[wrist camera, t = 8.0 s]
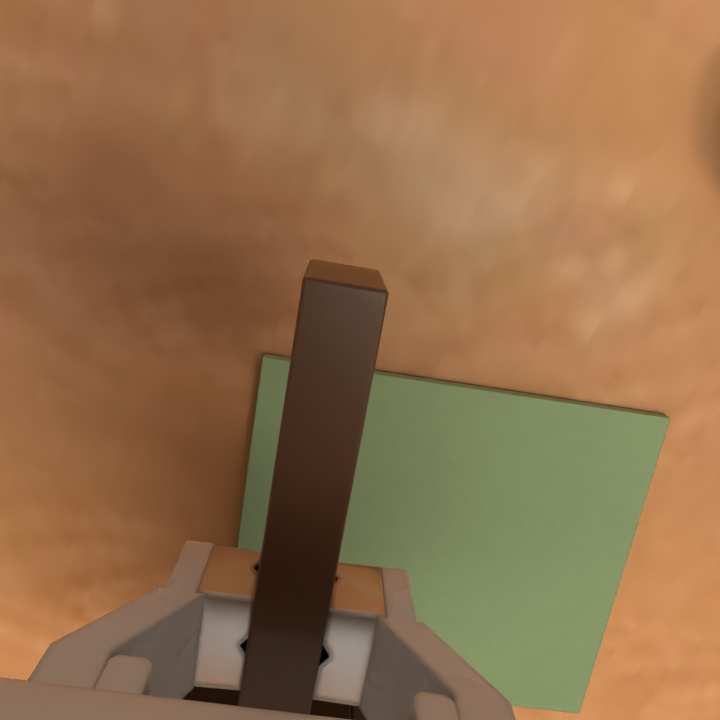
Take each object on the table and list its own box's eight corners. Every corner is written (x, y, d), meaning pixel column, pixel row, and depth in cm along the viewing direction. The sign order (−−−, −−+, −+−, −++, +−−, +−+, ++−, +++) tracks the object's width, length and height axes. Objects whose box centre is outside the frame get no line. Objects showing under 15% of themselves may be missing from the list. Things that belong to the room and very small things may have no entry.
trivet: (222, 664, 32) (220, 673, 32) (263, 353, 28) (262, 356, 28) (575, 705, 34) (579, 714, 33) (664, 413, 30) (671, 418, 29)
